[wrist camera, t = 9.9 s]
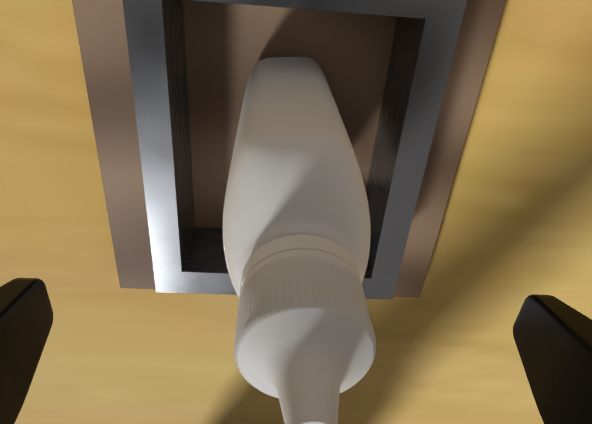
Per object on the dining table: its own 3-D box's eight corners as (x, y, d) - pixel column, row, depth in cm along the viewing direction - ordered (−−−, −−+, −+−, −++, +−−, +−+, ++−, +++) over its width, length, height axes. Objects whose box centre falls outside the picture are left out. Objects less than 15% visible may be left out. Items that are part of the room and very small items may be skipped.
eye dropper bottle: (377, 91, 16) (570, 358, 6) (303, 211, 18) (341, 548, 8) (268, 31, 15) (257, 229, 4) (205, 168, 17) (102, 500, 7)
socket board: (413, 283, 22) (419, 297, 21) (126, 274, 21) (120, 287, 20) (523, -112, 14) (539, -116, 13) (59, -159, 13) (43, -167, 12)
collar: (377, 253, 20) (392, 299, 17) (172, 245, 19) (156, 292, 16) (436, -26, 14) (472, -20, 11) (147, -51, 13) (116, -51, 11)
